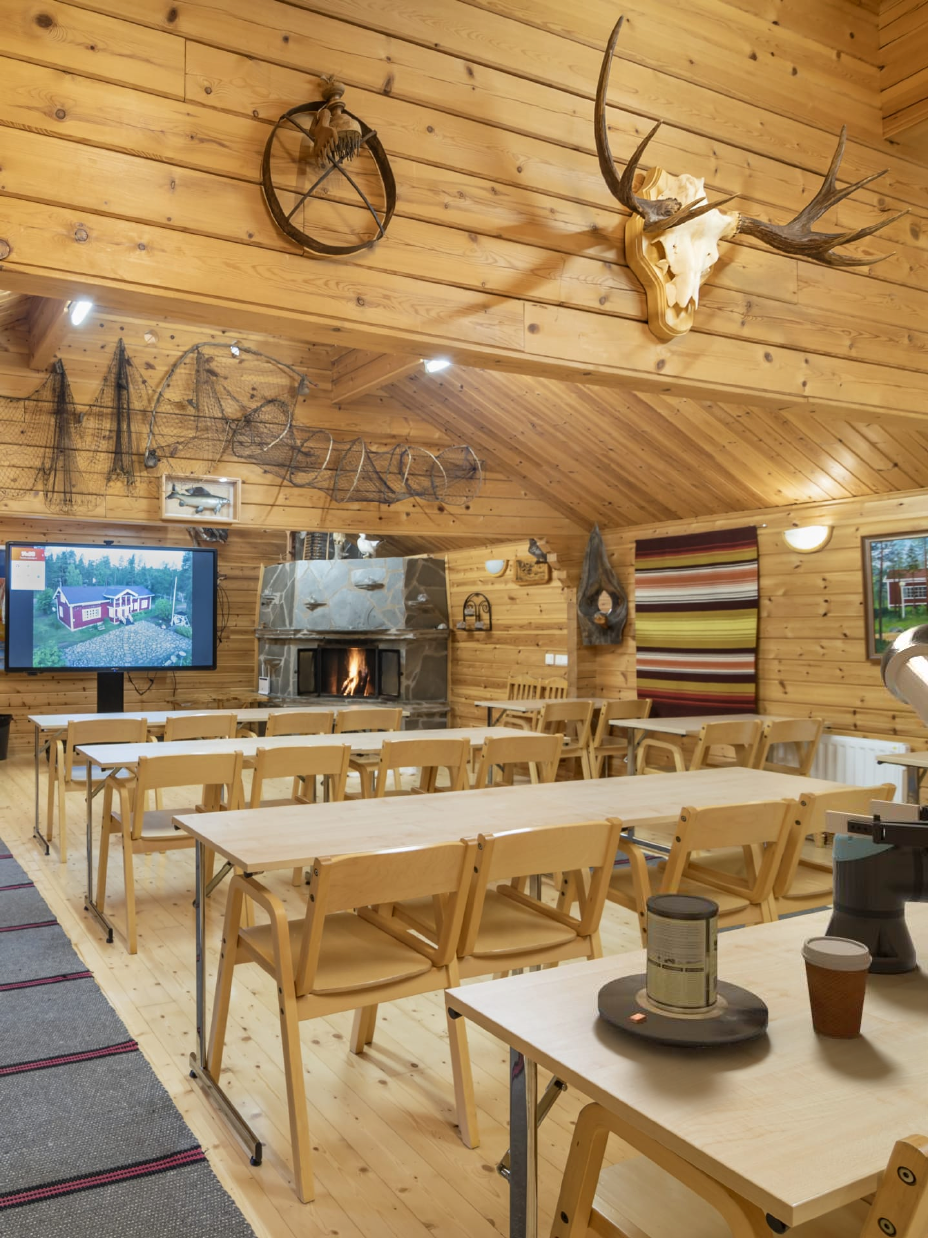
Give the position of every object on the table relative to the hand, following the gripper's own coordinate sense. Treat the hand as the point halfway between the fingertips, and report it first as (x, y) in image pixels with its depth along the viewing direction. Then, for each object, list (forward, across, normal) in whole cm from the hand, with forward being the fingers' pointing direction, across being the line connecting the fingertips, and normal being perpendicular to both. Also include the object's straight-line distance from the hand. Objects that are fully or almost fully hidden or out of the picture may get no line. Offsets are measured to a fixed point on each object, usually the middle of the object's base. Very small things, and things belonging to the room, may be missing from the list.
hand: (849, 815), depth 128 cm
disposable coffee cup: (+5, +6, -32) cm, 33 cm away
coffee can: (+21, -9, -29) cm, 36 cm away
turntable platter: (+21, -9, -30) cm, 38 cm away
